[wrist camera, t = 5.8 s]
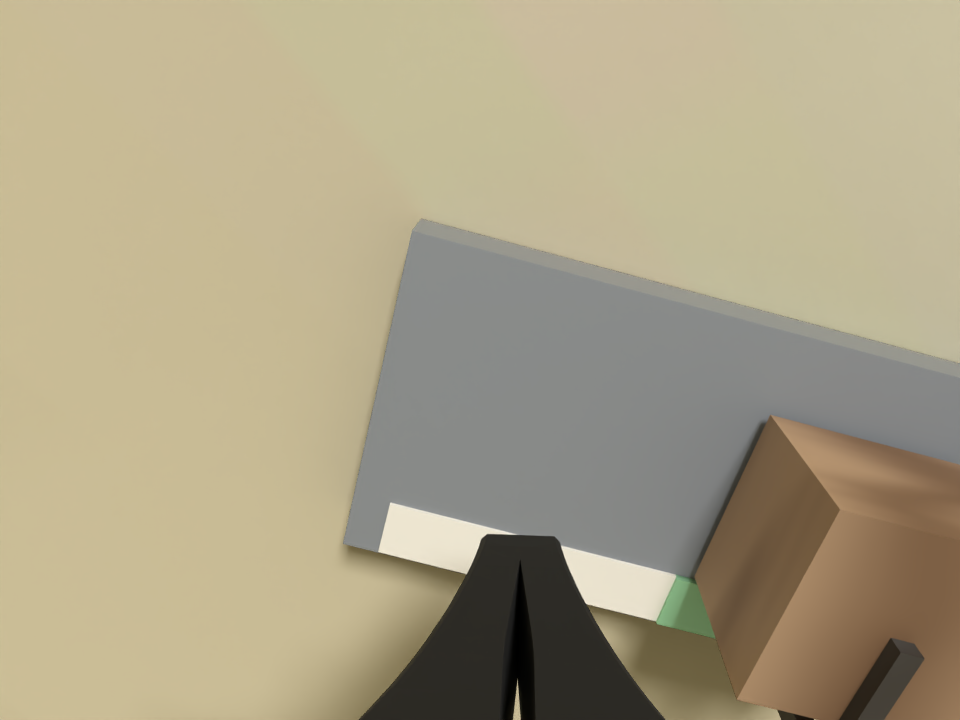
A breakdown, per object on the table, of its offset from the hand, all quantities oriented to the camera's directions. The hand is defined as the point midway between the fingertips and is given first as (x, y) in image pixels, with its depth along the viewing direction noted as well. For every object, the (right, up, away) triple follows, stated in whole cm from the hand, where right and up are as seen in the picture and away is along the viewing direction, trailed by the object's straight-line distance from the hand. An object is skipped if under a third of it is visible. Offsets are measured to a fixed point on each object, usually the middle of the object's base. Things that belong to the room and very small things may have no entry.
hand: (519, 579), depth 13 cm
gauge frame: (+6, +1, +7) cm, 9 cm away
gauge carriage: (+8, -1, +5) cm, 9 cm away
